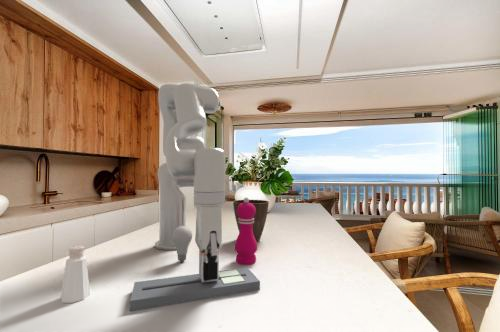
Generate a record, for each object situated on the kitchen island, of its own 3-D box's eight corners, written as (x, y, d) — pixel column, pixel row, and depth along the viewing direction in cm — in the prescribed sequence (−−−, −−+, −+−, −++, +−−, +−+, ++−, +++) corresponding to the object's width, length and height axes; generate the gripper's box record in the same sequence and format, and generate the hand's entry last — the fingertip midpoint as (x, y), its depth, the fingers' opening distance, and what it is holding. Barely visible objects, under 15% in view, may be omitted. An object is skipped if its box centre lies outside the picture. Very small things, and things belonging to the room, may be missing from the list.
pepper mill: (255, 266, 73) (255, 199, 74) (231, 264, 75) (232, 198, 76) (259, 258, 81) (259, 196, 81) (237, 256, 82) (238, 196, 83)
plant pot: (227, 237, 106) (228, 200, 107) (258, 234, 113) (258, 198, 113) (241, 246, 93) (241, 204, 93) (275, 242, 99) (275, 202, 100)
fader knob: (199, 275, 60) (199, 247, 61) (215, 273, 62) (215, 246, 62) (201, 282, 57) (201, 252, 57) (218, 280, 58) (218, 251, 58)
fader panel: (134, 290, 58) (134, 281, 58) (247, 274, 67) (247, 266, 67) (129, 311, 49) (130, 299, 49) (259, 289, 59) (259, 280, 59)
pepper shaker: (56, 305, 51) (58, 252, 51) (64, 294, 56) (65, 245, 56) (87, 300, 53) (88, 249, 54) (91, 289, 58) (93, 242, 59)
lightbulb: (195, 259, 79) (196, 225, 79) (184, 266, 73) (185, 229, 73) (179, 257, 81) (179, 223, 81) (167, 263, 75) (168, 227, 75)
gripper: (190, 196, 66) (189, 264, 66) (198, 203, 51) (197, 294, 50) (217, 195, 69) (216, 261, 68) (233, 202, 53) (233, 288, 53)
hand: (208, 274), depth 59 cm, fingers closed on fader knob, 4 cm apart
